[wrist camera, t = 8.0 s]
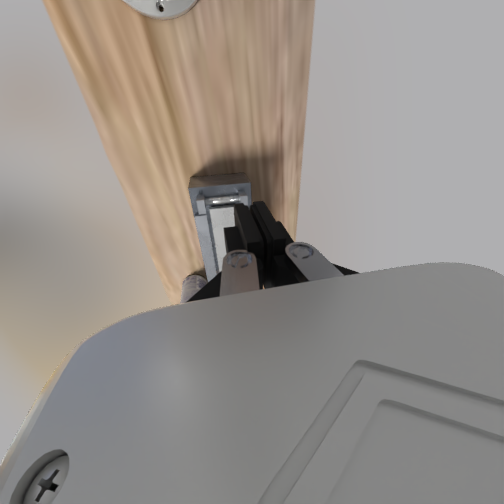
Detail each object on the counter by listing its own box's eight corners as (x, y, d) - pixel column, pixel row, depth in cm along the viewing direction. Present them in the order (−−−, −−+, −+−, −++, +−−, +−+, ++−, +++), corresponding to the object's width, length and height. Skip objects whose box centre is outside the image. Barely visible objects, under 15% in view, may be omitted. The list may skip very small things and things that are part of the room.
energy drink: (190, 294, 48) (187, 341, 39) (178, 279, 45) (171, 325, 35) (211, 286, 48) (213, 330, 38) (200, 270, 45) (200, 314, 35)
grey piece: (190, 177, 34) (187, 194, 27) (244, 172, 35) (254, 187, 28) (210, 277, 47) (211, 306, 40) (249, 271, 48) (257, 298, 41)
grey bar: (242, 280, 40) (242, 283, 39) (221, 283, 40) (221, 286, 39) (235, 204, 32) (236, 206, 31) (209, 207, 31) (209, 209, 30)
